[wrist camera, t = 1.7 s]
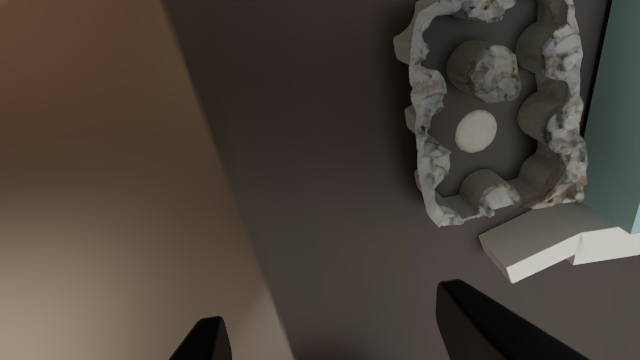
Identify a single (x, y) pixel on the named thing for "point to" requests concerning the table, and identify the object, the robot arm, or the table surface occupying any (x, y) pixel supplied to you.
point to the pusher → (616, 122)
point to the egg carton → (492, 87)
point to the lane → (555, 240)
